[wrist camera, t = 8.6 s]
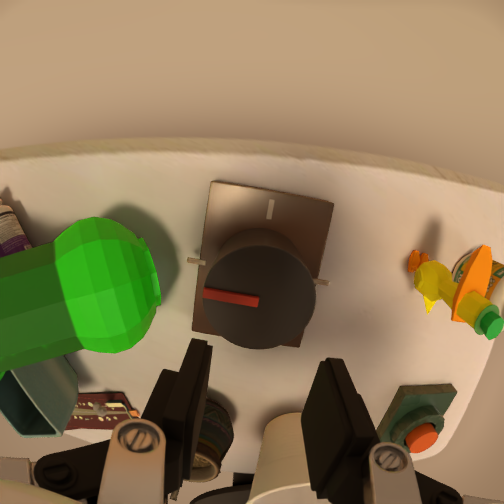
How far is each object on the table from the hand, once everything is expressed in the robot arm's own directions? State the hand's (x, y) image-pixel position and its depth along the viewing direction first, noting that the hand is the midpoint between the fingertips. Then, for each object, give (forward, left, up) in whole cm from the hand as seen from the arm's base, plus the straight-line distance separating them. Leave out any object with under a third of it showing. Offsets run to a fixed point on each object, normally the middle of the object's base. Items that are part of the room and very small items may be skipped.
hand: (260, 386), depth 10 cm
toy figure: (+3, -14, -15) cm, 21 cm away
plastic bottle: (-1, +8, -12) cm, 15 cm away
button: (-16, -22, -12) cm, 29 cm away
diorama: (-24, +20, -15) cm, 35 cm away
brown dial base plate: (0, 0, -15) cm, 15 cm away
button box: (-16, -21, -15) cm, 31 cm away
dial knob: (0, 0, -13) cm, 13 cm away
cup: (-18, -7, -15) cm, 25 cm away
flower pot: (-16, +21, -15) cm, 31 cm away
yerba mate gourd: (-17, +3, -15) cm, 23 cm away
